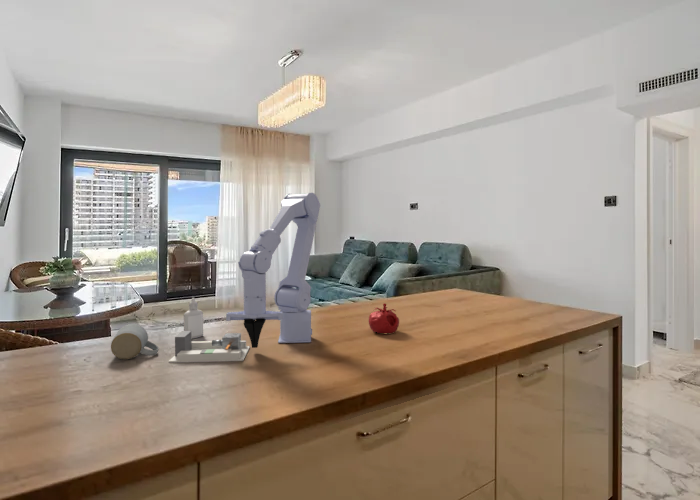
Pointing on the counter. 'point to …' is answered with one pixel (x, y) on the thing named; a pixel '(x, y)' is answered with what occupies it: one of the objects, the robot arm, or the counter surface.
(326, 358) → the counter surface
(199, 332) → the eye dropper bottle
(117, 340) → the ceramic mug
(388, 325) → the pomegranate
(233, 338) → the plunger
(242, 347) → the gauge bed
